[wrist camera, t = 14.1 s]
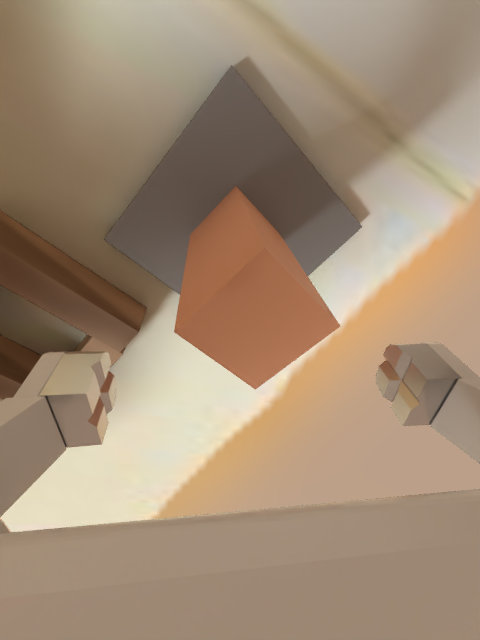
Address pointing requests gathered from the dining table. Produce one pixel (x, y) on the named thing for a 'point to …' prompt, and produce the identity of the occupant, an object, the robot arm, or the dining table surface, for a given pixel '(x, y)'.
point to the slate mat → (231, 187)
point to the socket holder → (60, 301)
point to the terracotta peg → (248, 294)
